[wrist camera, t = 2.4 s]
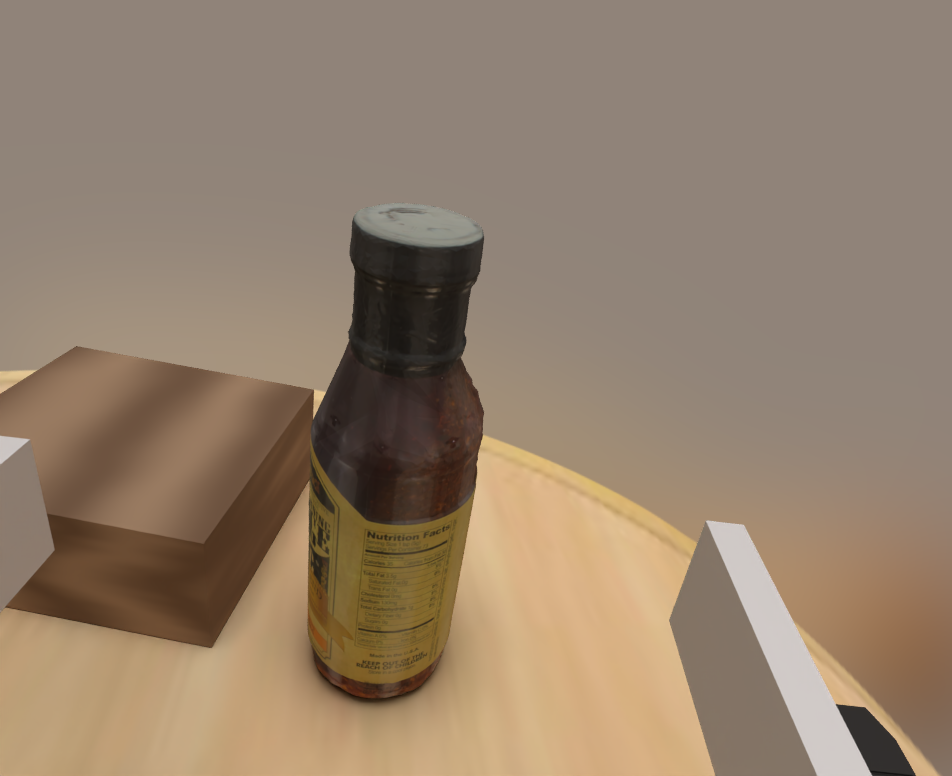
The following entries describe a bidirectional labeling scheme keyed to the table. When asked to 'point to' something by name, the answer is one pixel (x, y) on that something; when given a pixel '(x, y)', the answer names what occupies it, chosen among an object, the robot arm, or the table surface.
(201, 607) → the walnut block
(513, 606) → the table surface
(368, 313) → the sauce bottle
